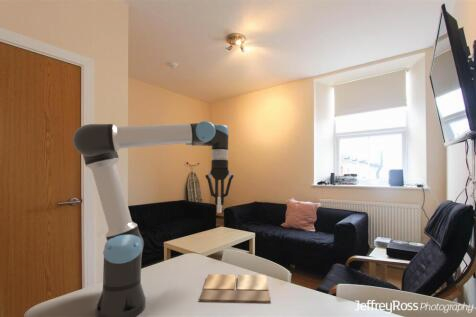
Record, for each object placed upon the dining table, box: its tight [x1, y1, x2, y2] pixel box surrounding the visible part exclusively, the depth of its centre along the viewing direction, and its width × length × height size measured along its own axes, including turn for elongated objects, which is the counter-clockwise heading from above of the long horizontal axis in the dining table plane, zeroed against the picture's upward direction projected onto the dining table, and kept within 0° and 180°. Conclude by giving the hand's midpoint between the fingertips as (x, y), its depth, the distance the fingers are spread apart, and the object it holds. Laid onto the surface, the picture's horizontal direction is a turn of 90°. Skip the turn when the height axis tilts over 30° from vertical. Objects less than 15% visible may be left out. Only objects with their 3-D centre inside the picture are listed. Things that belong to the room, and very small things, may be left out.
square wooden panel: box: [236, 274, 270, 292], centre depth 99 cm, size 12×12×2 cm
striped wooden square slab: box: [202, 273, 237, 291], centre depth 100 cm, size 12×12×2 cm
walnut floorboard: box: [199, 289, 272, 304], centre depth 89 cm, size 25×8×2 cm, turn 88°
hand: (219, 212), depth 109 cm, fingers closed
